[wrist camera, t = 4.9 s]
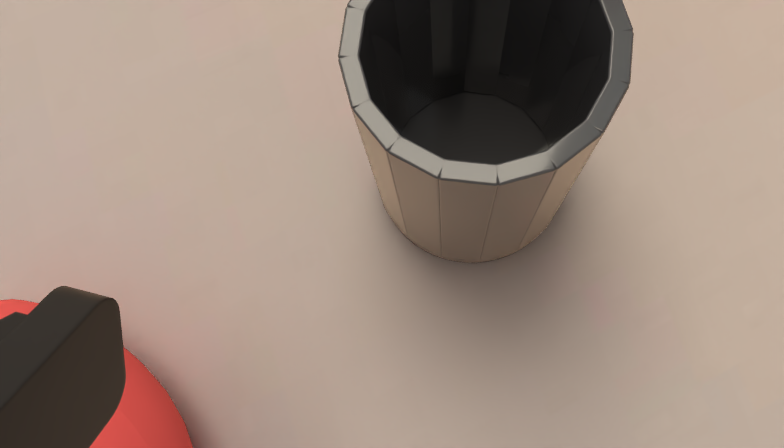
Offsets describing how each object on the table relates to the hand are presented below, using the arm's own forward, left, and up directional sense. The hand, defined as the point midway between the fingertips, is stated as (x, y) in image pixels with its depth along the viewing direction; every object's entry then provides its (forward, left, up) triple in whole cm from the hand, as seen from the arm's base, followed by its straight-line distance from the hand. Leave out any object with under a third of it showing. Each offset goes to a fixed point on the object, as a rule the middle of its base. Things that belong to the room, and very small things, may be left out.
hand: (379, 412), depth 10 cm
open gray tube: (+5, -6, -12) cm, 14 cm away
